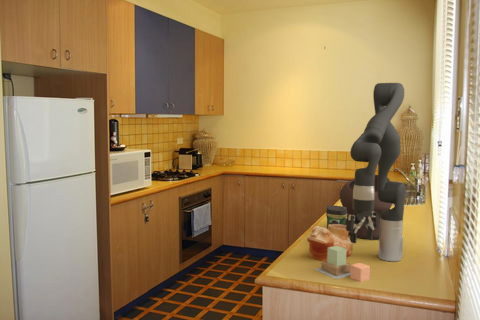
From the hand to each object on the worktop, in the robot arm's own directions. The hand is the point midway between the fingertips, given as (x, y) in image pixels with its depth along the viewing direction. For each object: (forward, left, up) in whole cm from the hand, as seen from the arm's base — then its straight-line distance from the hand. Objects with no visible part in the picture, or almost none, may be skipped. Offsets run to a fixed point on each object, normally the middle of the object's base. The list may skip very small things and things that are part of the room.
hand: (361, 241), depth 168 cm
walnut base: (+2, -10, -14) cm, 17 cm away
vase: (-53, -44, -15) cm, 71 cm away
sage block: (+2, -10, -11) cm, 15 cm away
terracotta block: (0, 0, -15) cm, 15 cm away
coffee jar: (-27, -39, -15) cm, 50 cm away
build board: (+2, -10, -15) cm, 18 cm away
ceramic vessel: (-10, -26, -16) cm, 32 cm away
